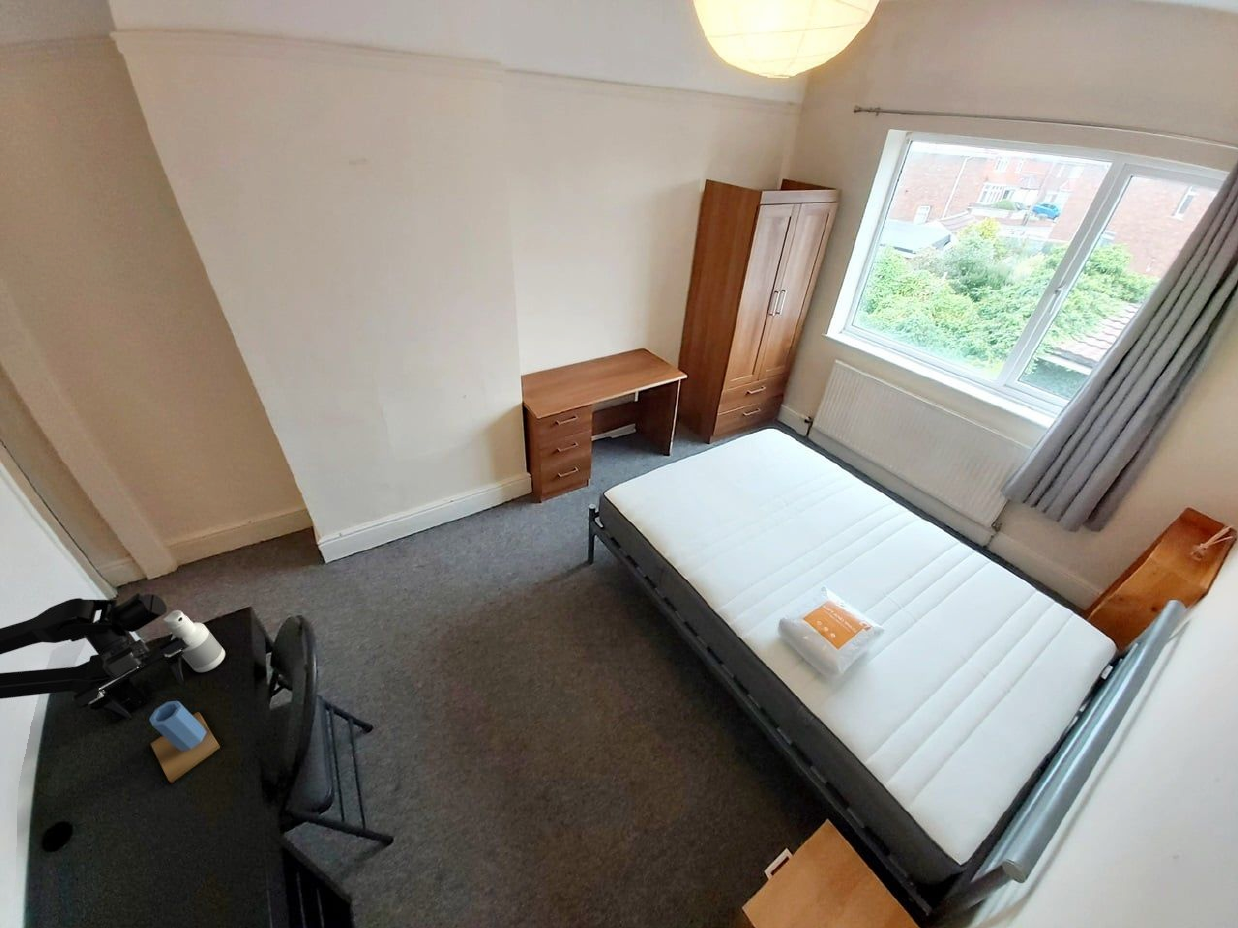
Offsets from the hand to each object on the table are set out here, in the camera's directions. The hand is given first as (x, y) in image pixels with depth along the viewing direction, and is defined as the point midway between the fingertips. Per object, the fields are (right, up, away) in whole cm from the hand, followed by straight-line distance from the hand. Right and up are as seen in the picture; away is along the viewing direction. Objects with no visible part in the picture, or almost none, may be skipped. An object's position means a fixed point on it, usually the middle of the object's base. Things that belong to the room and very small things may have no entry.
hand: (158, 702), depth 107 cm
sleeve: (+6, -9, +2) cm, 11 cm away
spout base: (+5, -11, +1) cm, 12 cm away
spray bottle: (-4, +2, +19) cm, 19 cm away
